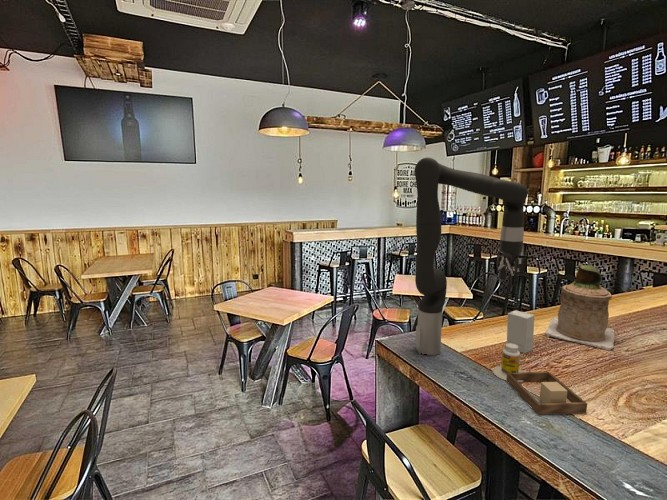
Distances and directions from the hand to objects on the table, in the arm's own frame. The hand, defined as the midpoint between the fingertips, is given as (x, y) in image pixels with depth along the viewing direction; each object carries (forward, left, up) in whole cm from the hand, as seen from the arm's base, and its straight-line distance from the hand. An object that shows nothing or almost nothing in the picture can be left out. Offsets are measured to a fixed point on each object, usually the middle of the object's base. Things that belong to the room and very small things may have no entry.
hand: (507, 282), depth 139 cm
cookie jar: (+45, +20, -30) cm, 58 cm away
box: (+1, -30, -30) cm, 43 cm away
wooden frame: (+1, -26, -30) cm, 39 cm away
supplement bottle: (-3, -12, -30) cm, 32 cm away
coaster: (-3, -12, -30) cm, 33 cm away
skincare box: (+11, +8, -30) cm, 33 cm away
